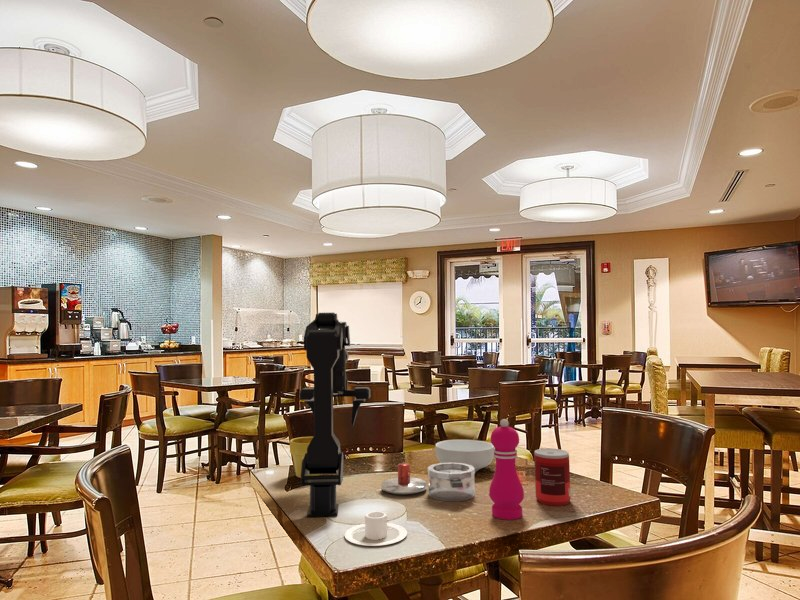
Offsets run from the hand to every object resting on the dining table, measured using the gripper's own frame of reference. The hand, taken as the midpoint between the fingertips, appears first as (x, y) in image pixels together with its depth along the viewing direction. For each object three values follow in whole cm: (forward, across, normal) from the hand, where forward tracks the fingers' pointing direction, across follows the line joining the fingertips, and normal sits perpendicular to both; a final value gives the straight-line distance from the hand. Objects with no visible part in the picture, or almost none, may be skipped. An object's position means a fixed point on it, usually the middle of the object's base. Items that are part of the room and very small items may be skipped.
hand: (335, 425), depth 144 cm
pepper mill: (+15, -41, +29) cm, 52 cm away
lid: (+14, -19, +11) cm, 26 cm away
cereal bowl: (+14, -35, -9) cm, 39 cm away
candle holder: (+15, -14, +40) cm, 45 cm away
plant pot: (+14, +8, -4) cm, 17 cm away
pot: (+14, -30, +14) cm, 36 cm away
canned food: (+15, -53, +20) cm, 58 cm away
